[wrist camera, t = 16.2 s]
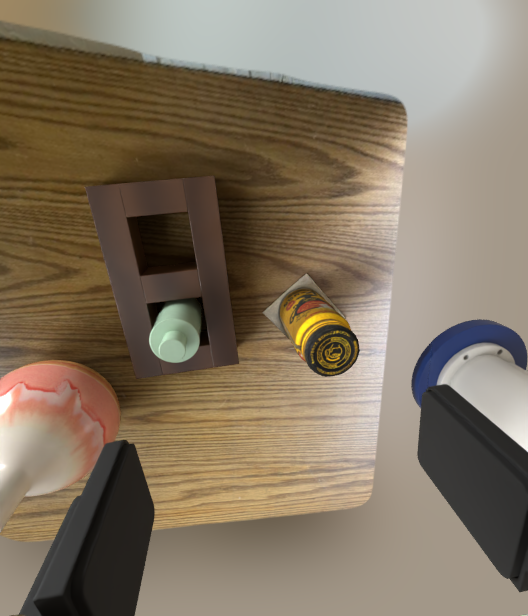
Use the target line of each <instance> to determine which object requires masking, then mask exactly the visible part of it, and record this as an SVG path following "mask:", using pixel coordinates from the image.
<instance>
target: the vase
mask: <svg viewBox="0 0 528 616" xmlns="http://www.w3.org/2000/svg"><path fill="white" fill-rule="evenodd" d="M120 419H121V411H120V404H119V400H118V398H117V395H116V393H115V391H114V389H113V388H112V386H111V385H110V383H109V382H108V381H107V380H106V379H105V378H104V377H103V376H102V375H100V374H99V373H98V372H96V371H95V370H93V369H91V368H89V367H87V366H85V365H83V364H79V363H76V362H71V361H65V360H46V361H39V362H34V363H30V364H27V365H25V366H22V367H19V368H17V369H15V370H13V371H12V372H10V373H8V374H6V375H5V376H3V377H2V378H1V379H0V532H1V531H2V529H3V528H4V526H5V525H6V523H7V522H8V520H9V519H10V517H11V516H12V514H13V513H14V511H15V510H16V508H17V507H18V505H19V504H20V502H21V500H22V499H23V497H24V496H38V495H44V494H48V493H52V492H55V491H58V490H61V489H64V488H66V487H68V486H70V485H72V484H74V483H76V482H77V481H79V480H80V479H82V478H83V477H85V476H86V475H87V474H89V473H90V472H91V471H92V470H93V469H94V466H95V464H96V462H97V460H98V458H99V455H100V453H101V451H102V449H103V447H104V445H105V444H106V443H110V442H114V441H115V439H116V436H117V434H118V430H119V426H120Z"/></svg>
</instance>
